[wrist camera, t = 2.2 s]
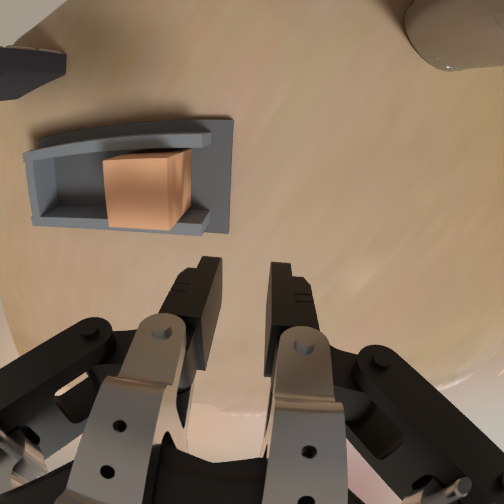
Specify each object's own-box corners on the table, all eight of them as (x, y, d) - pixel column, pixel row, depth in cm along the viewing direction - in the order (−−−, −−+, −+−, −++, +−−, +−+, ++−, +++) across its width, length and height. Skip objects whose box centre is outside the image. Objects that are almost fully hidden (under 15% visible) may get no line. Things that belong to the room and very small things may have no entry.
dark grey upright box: (68, 49, 20) (-21, 39, 7) (66, 78, 22) (-27, 80, 9) (17, 77, 21) (-60, 85, 8) (17, 103, 23) (-62, 119, 10)
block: (137, 150, 26) (102, 160, 19) (191, 148, 26) (166, 158, 19) (140, 203, 28) (109, 226, 22) (191, 205, 28) (169, 230, 22)
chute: (42, 137, 26) (17, 143, 21) (233, 120, 25) (226, 119, 21) (51, 221, 31) (30, 234, 27) (229, 231, 30) (222, 250, 26)
